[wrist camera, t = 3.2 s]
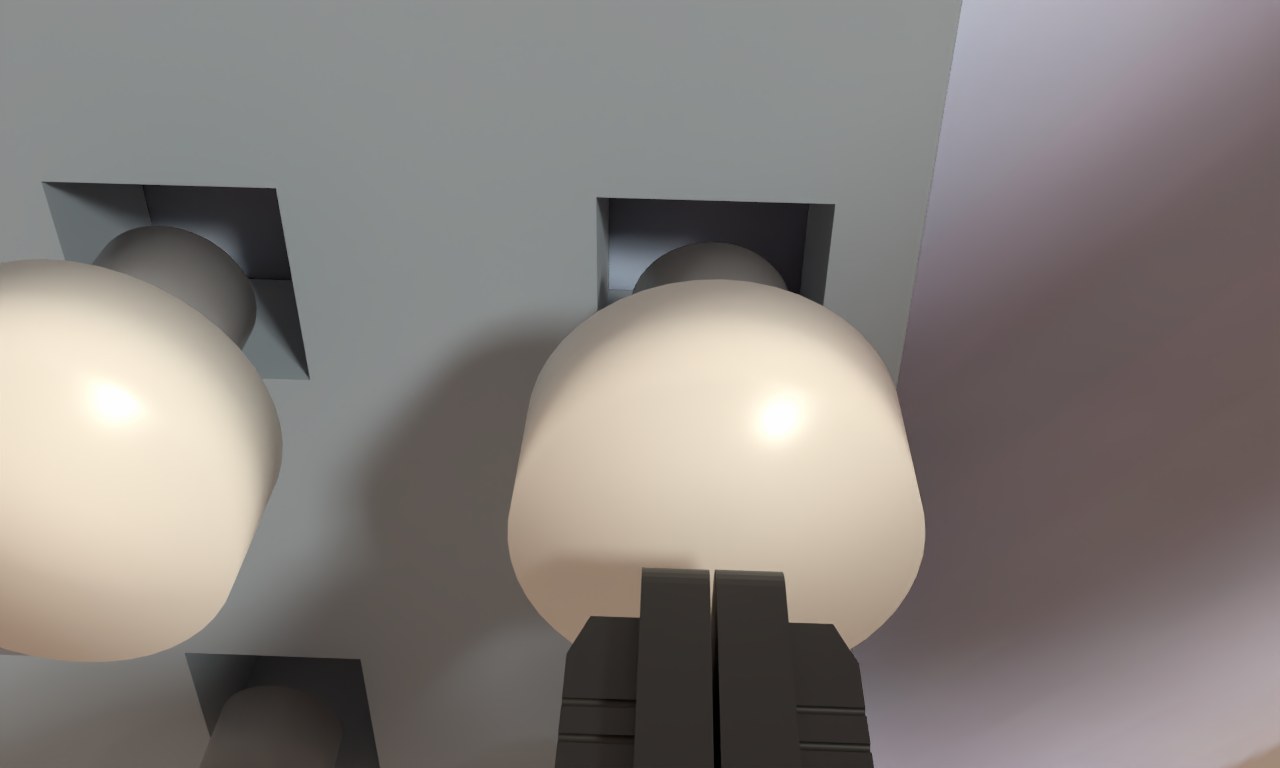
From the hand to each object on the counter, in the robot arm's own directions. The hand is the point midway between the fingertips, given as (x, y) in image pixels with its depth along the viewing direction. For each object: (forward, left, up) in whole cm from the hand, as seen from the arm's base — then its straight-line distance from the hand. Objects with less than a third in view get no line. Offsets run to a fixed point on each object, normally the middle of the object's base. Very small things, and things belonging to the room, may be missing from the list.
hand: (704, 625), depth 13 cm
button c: (+8, 0, -6) cm, 10 cm away
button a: (0, 0, -6) cm, 6 cm away
